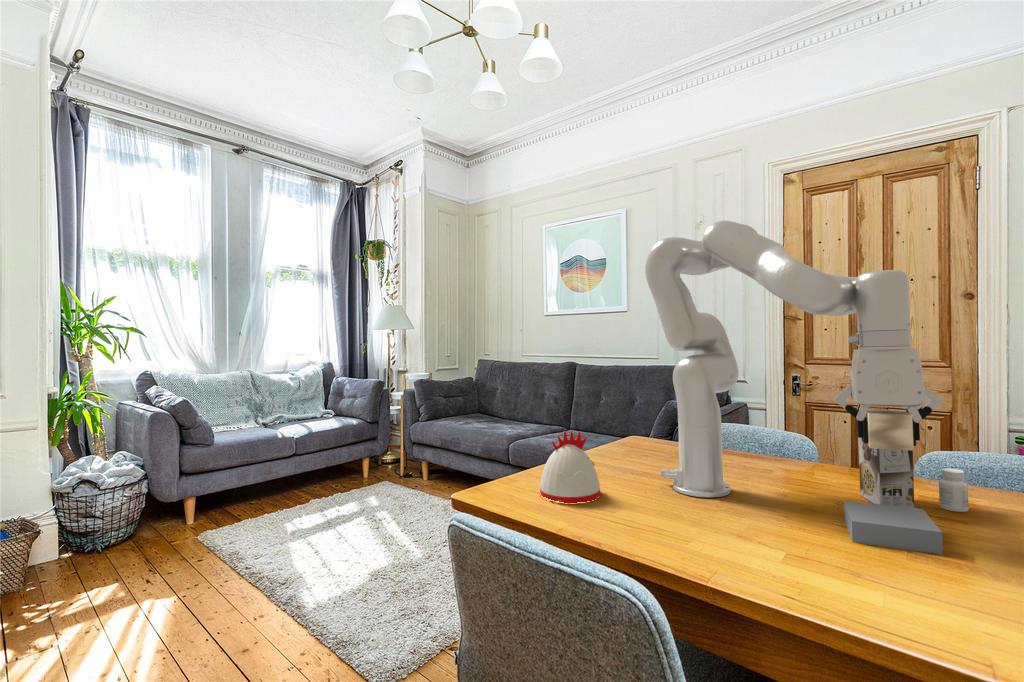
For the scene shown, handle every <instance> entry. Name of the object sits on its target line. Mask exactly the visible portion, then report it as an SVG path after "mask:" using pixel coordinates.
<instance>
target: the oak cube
mask: <svg viewBox="0 0 1024 682" xmlns="http://www.w3.org/2000/svg"><path fill="white" fill-rule="evenodd" d="M865 417H866V421H867V422H868V444H867V445H868V446H869V447H870V448H876V449H894V450H913V452H914V450H915V449H914V448H915V446H913V422H912V414H910V413H908V412H906V410H905V409H871V408H869V409H868V412H867V414H866V416H865Z"/></svg>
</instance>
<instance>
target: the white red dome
mask: <svg viewBox="0 0 1024 682" xmlns="http://www.w3.org/2000/svg"><path fill="white" fill-rule="evenodd" d="M569 434H570V435H569V439H568V434H567V432H566V430H563V438H561V437H560V435H558V434H557V439H558V440H557V441H558V444H557V445H556V443H555V442H554V441H553V440H551V443H552V445H553V449H554V451H552V453H551V454H550V455H549V457H548V458H547V461H546V462H545V465H544V468H543V471H542V475H541V479H540V484H539V492H540V493H541V495H542V496H543V497H546V498H548V499H551V500H554V501H559V502H564V503H577V502H587V501H592V500H595V499H597V498H598V497H599V496H600V497H601V485H600V481H599V477H598V474H597V471H596V468H595V465H596V463H595V462H594V461H593V460H592V459H591V458H590V457H589V455H588V454H587V453H586V451H584V450H583V447H584V445H585V444H586V440H587V438H588V437H587V435H585V437H584V438H583V439H582V437H581V431H580V430H579V431H578V432H577V435H576V438H574V433H573V430H570V433H569ZM540 493H539V494H540ZM541 495H540V496H541ZM600 497H599V498H600ZM599 498H598V499H599ZM598 499H597V500H598ZM595 501H596V500H595ZM592 502H593V501H592Z"/></svg>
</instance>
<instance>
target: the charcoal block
mask: <svg viewBox="0 0 1024 682" xmlns="http://www.w3.org/2000/svg"><path fill="white" fill-rule="evenodd" d="M843 520H844V522H845V525H846V528H847V532H848V534H849V536H850V539H851V541H852V543H857V544H863V545H871V546H877V547H878V546H879V547H887V548H893V549H901V550H905V551H906V550H907V551H915V552H919V553H920V552H923V553H929V554H937V555H943V531H942V530H941V529H940V528H939V527H938V525H937V524H936V523H935V522H934V520H933V519H932V518H931V517H930V516H929V515H928V514H927V512H926V511H925V510H924V509H923V508H916V507H914V508H908V507H899V506H890V505H880V504H874V503H872V502H861V501H860V502H859V501H851V500H843Z"/></svg>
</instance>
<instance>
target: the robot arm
mask: <svg viewBox="0 0 1024 682" xmlns="http://www.w3.org/2000/svg"><path fill="white" fill-rule="evenodd" d="M785 250H786V249H785V246H783V245H782V244H781V243H779V242H777V241H774V240H772V239H770V238H768V237H766V236H764V235H761V234H759V233H758V231H757V230H756V229H755V228H754V227H752V226H749V225H747V224H743V223H740V222H739V223H738V222H736V221H731V220H719V221H716V222H714V223H712V224H711V225H709V226H708V227H707V228H706V229H705V230H704V233H703V236H702V240H695V239H690V238H685V237H684V238H683V237H679V236H676V237H675V236H672V237H666V238H663V239H660V240H659V241H657V242H656V243H655V244H654V245H653V246H652V248H651V249H650V251H649V253H648V254H647V257H646V260H645V268H644V269H645V271H644V272H645V273H644V274H645V278H646V282H647V285H648V287H649V288H648V289H649V291H650V293H651V294H652V297H653V300H654V303H655V307H656V309H657V310H656V311H657V313H658V316H659V319H660V323H661V326H662V329H663V332H664V335H665V338H666V341H667V343H668V344H669V346H670V347H671V349H673V350H675V351H677V352H693V353H694V354H692V355H688V356H686V357H682V359H680V360H679V361H678V362H677V363H676V365H675V366H674V369H673V372H672V383H673V388H674V393H675V398H676V403H677V404H676V407H677V423H678V424H677V425H678V427H677V429H678V461H679V462H678V463H679V465H678V468H676V467H675V468H674V469H670V468H663V467H662V468H661V469H660V476H661V477H664V479H668V480H670V479H671V480H674V482H673V483H672V488H673V489H674V491H676V492H677V493H680V494H681V495H682V494H683V495H687V496H691V497H696V498H721V497H725V496H729V494H730V493H731V490H732V489H731V486H730V485H729V484H728V483H727V482H725V481H724V473H723V472H724V468H723V467H724V466H723V465H724V464H723V463H724V462H723V436H722V434H723V433H722V431H723V429H722V411H721V407H720V404H719V401H718V397H717V394H720V393H724V392H727V391H730V390H731V389H732V388H733V387H735V385H737V381H738V379H739V367H738V363H737V360H736V357H735V354H734V351H733V348H732V346H731V343H730V340H729V337H728V335H727V331H726V328H725V326H724V324H723V323H722V322H721V321H720V320H719V319H718V318H717V316H715V315H714V314H711V313H708V312H699V311H698V310H697V307H696V306H695V303H694V301H693V297H692V294H691V292H690V289H689V288H688V285H686V283H685V282H684V281H683V279H682V277H681V275H688V276H690V275H691V276H702V275H706V274H710V273H714V272H716V271H721V270H723V269H727V268H730V267H731V268H732V269H734V270H736V271H737V272H740V273H742V274H743V275H746V276H747V277H749V278H751V279H753V280H754V281H756V282H757V283H758V285H760V286H761V287H763V288H764V289H765V290H766V291H768V292H769V293H771V294H772V295H774V296H775V297H777V298H779V299H781V300H783V301H785V302H786V303H788V304H790V305H792V306H793V307H795V308H797V309H799V310H801V311H803V312H805V313H808V314H811V315H814V316H816V315H817V316H833V317H840V316H848V315H852V314H856V329H857V330H856V331H857V332H856V333H855V334H853V335H848V336H847V343H848V344H855V345H856V346H857V349H853V353H852V358H851V366H850V383H849V384H848V385H847V386H846V387H845V388H844V389H843V390H841V391H840V392H839V393H838V394H837V395H835V397H834V399H833V400H834V402H835V403H837V404H838V405H839V406H840V407H841V408H843V409H844V410H845V411H847V413H849V414H850V415H851V416H853V417H854V419H856V433H857V439H858V438H861V439H862V442H863V443H865V444H868V422H867V421H866V417H865V416H866V414H867V412H868V409H870V407H891V408H893V407H895V408H896V407H899V408H900V407H901V408H903V409H904V411H906V412H908V413H910V414H912V422H913V446H914V447H916V446H917V441H920V440H921V436H920V434H921V432H920V429H921V428H920V423H922V421H923V420H924V419H925V418H927V417H928V416H929V415H930V414H931V413H932V412H934V411H935V410H936V409H938V408H939V407H940V406H941V405H943V404H944V400H943V398H941V397H940V396H938V395H937V394H935V393H934V392H933V391H931V390H930V389H929V388H928V387H927V386H925V381H924V371H923V365H922V361H921V357H920V352H919V350H918V348H913V347H912V340H911V339H912V336H911V316H910V315H911V311H910V310H911V309H910V291H909V290H910V289H909V286H910V285H909V277H908V274H907V273H906V272H905V271H903V270H899V269H884V270H876V271H875V270H873V271H868V272H863V273H861V274H859V275H858V276H843V275H842V276H841V275H837V274H836V275H835V274H831V273H829V274H828V273H825V272H823V271H821V270H818V269H816V268H814V267H812V266H810V265H807V264H806V263H803V262H802V261H800V260H797V258H796V259H795V258H794V257H792V256H791V255H789V254H788V253H787V252H786V251H785ZM849 397H851V399H852V401H853V402H854V403H856V404H857V406H856V408H855V407H854V406H852V404H850V403H849V402H848V401H847V398H849ZM926 399H927V401H928V402H926ZM920 406H921V407H920ZM917 407H920V408H918V409H917Z"/></svg>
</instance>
